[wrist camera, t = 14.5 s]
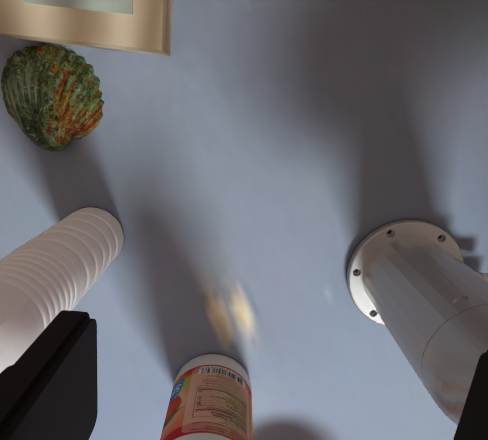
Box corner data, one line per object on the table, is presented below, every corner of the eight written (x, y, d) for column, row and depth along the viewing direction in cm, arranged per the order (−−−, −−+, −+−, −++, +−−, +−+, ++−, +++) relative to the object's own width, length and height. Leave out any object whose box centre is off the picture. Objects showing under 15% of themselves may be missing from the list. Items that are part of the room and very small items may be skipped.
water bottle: (56, 212, 42) (-196, 358, 18) (115, 201, 41) (-60, 335, 17) (81, 285, 44) (-112, 500, 20) (136, 275, 44) (8, 482, 20)
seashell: (86, 45, 33) (84, 161, 36) (106, 51, 37) (103, 155, 40) (-27, 29, 34) (-19, 145, 37) (5, 37, 38) (9, 141, 41)
